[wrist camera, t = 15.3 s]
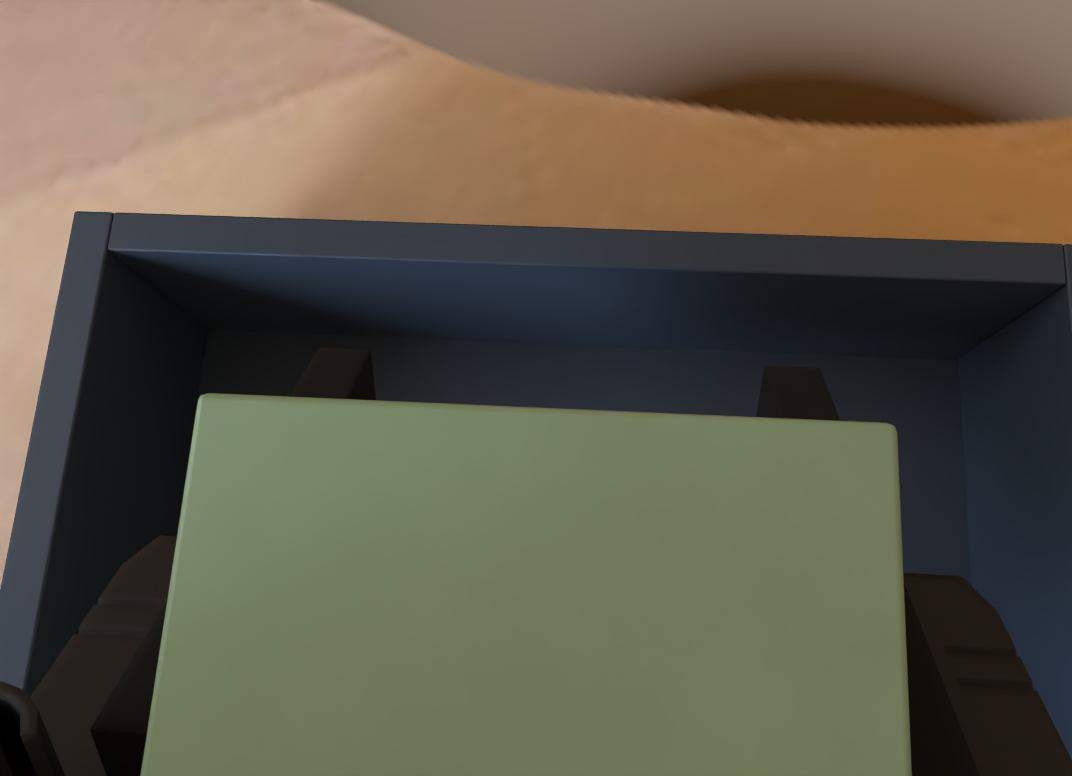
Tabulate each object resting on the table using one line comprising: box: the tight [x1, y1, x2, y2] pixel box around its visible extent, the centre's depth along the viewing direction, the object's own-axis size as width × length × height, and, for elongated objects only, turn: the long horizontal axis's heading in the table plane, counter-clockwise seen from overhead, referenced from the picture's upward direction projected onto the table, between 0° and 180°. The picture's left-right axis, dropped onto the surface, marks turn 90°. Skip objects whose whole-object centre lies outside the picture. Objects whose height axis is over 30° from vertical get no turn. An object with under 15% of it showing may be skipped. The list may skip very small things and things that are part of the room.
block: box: [140, 393, 912, 776], centre depth 11 cm, size 6×6×10 cm
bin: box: [0, 211, 1072, 760], centre depth 18 cm, size 20×17×6 cm
